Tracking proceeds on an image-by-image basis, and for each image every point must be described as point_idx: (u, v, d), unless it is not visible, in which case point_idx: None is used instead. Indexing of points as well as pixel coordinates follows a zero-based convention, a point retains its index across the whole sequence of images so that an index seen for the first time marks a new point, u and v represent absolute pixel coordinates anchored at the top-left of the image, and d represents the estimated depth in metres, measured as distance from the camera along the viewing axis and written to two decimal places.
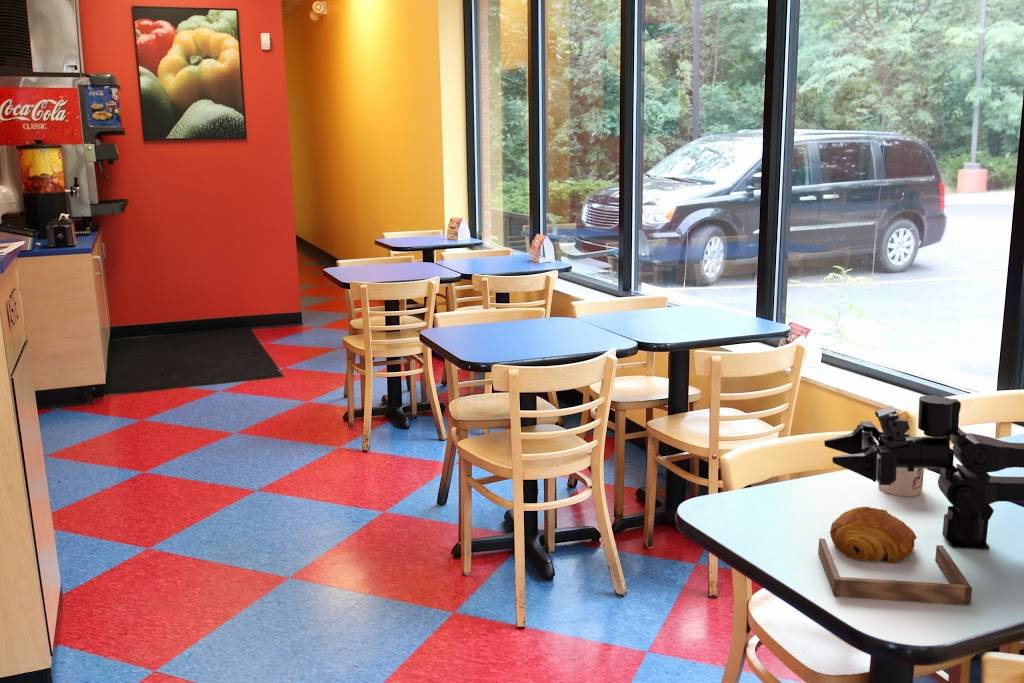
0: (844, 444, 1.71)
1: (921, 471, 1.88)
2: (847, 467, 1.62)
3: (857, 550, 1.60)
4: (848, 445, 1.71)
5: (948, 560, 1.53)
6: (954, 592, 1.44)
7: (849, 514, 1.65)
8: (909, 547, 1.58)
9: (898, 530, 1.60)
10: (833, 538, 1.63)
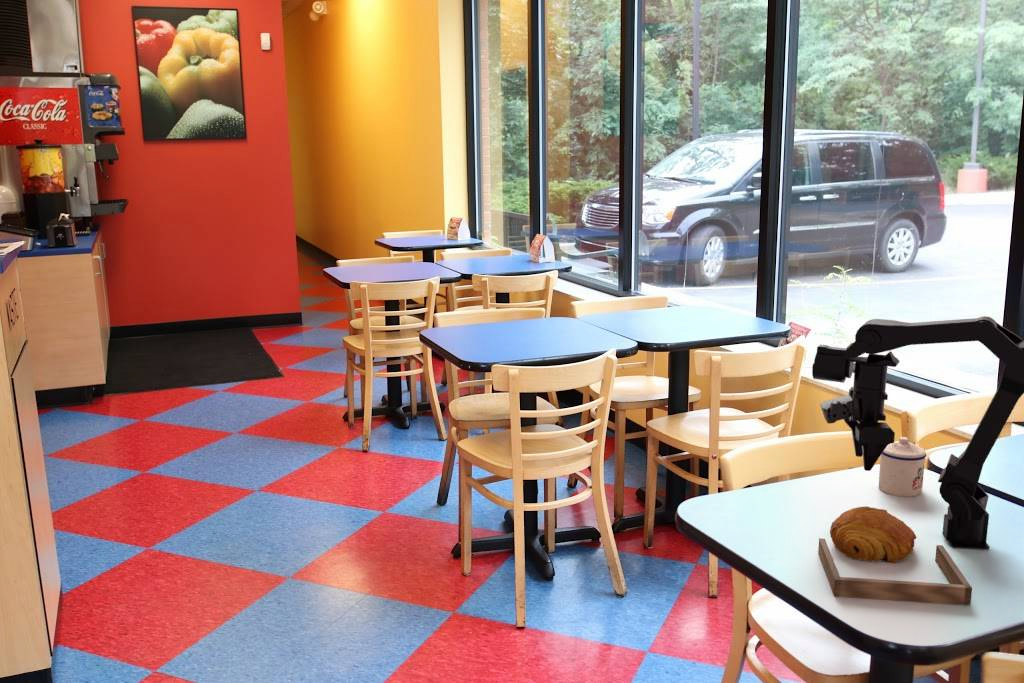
0: None
1: (921, 471, 1.88)
2: (875, 460, 1.68)
3: (857, 550, 1.60)
4: None
5: (948, 560, 1.53)
6: (954, 592, 1.44)
7: (849, 514, 1.65)
8: (909, 547, 1.58)
9: (898, 530, 1.60)
10: (833, 538, 1.63)
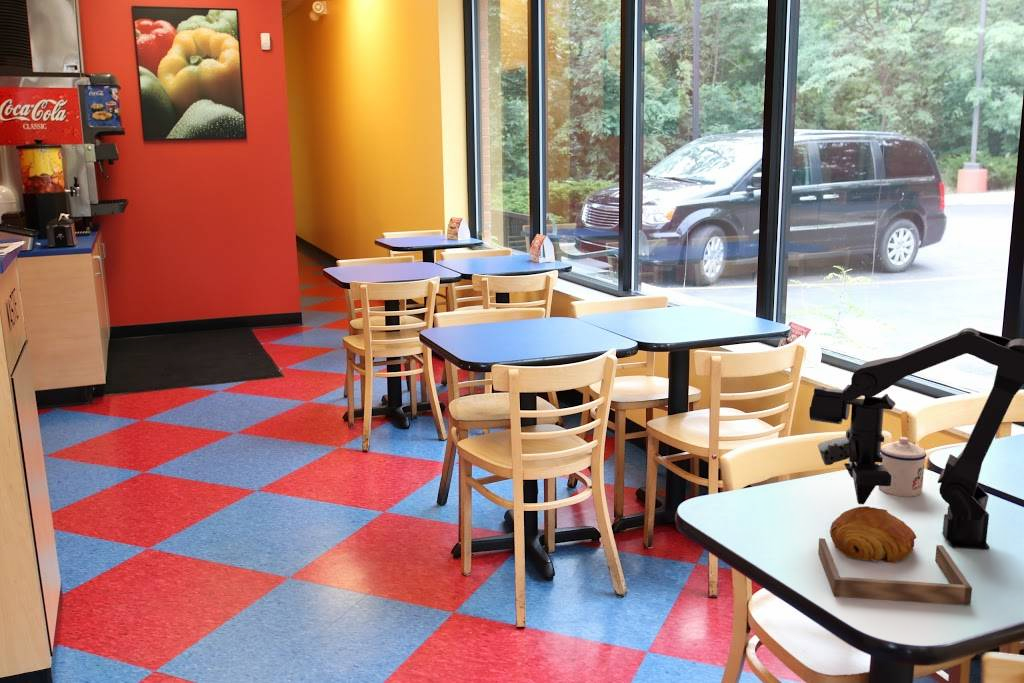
0: None
1: (921, 471, 1.88)
2: (868, 494, 1.74)
3: (857, 550, 1.60)
4: None
5: (948, 560, 1.53)
6: (954, 592, 1.44)
7: (849, 514, 1.65)
8: (909, 547, 1.58)
9: (898, 530, 1.60)
10: (833, 538, 1.63)
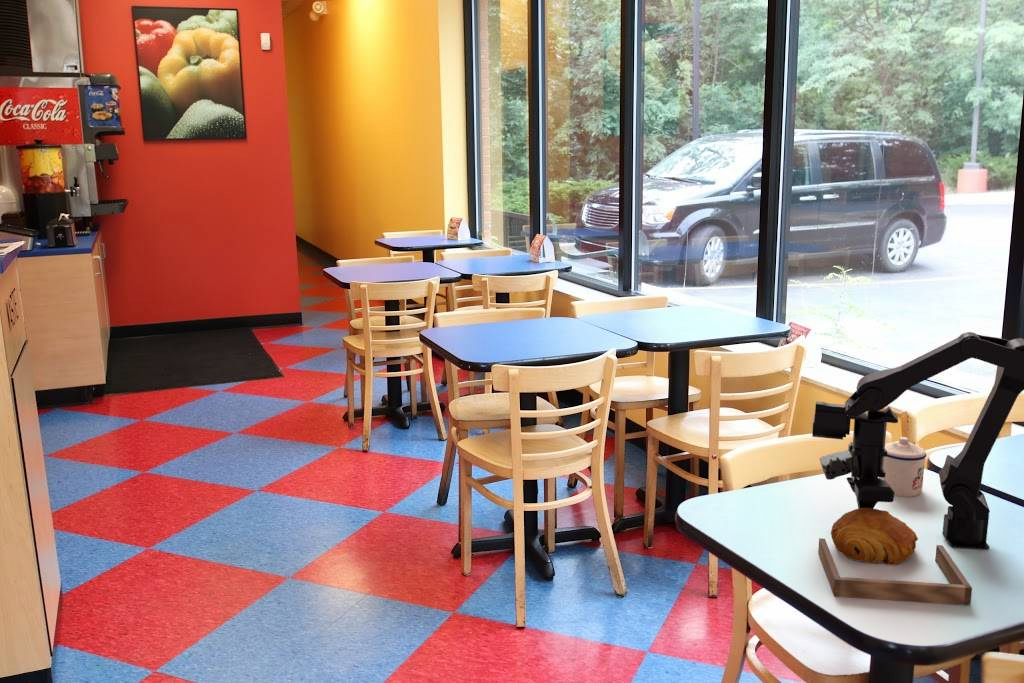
0: None
1: (921, 471, 1.88)
2: None
3: (857, 551, 1.59)
4: None
5: (948, 560, 1.53)
6: (954, 592, 1.44)
7: (850, 515, 1.64)
8: (910, 548, 1.57)
9: (899, 531, 1.59)
10: (834, 539, 1.63)
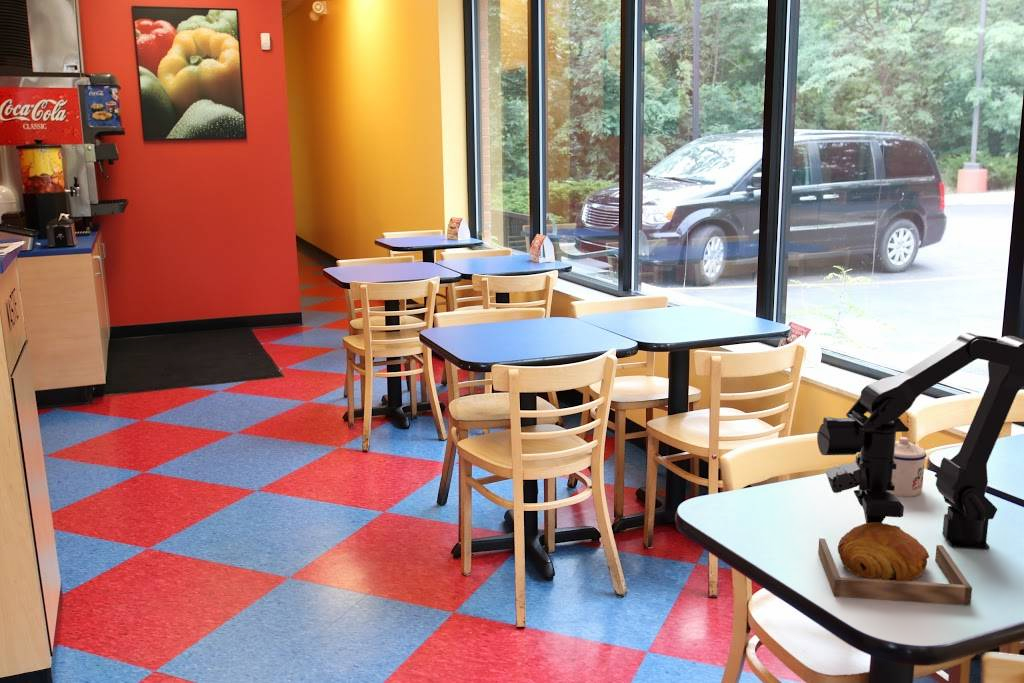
0: None
1: (921, 471, 1.88)
2: None
3: (864, 567, 1.53)
4: None
5: (948, 560, 1.53)
6: (954, 592, 1.44)
7: (858, 529, 1.58)
8: (919, 566, 1.50)
9: (909, 548, 1.52)
10: (840, 554, 1.57)
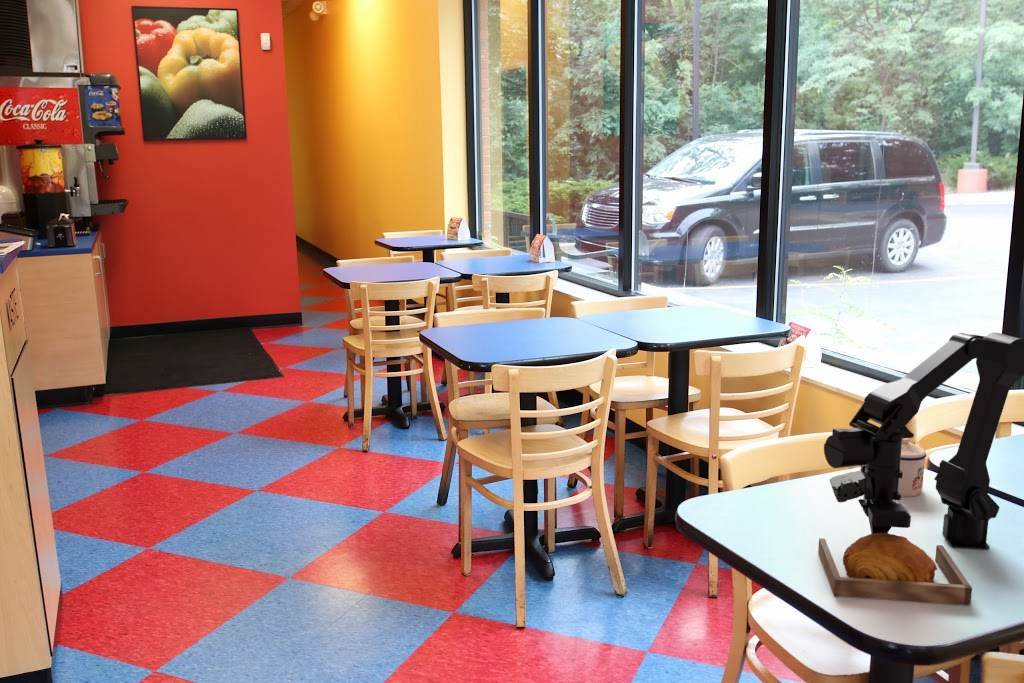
0: None
1: (921, 471, 1.88)
2: None
3: None
4: None
5: (948, 560, 1.53)
6: (954, 592, 1.44)
7: (864, 540, 1.54)
8: (927, 579, 1.46)
9: (916, 560, 1.48)
10: (845, 565, 1.52)
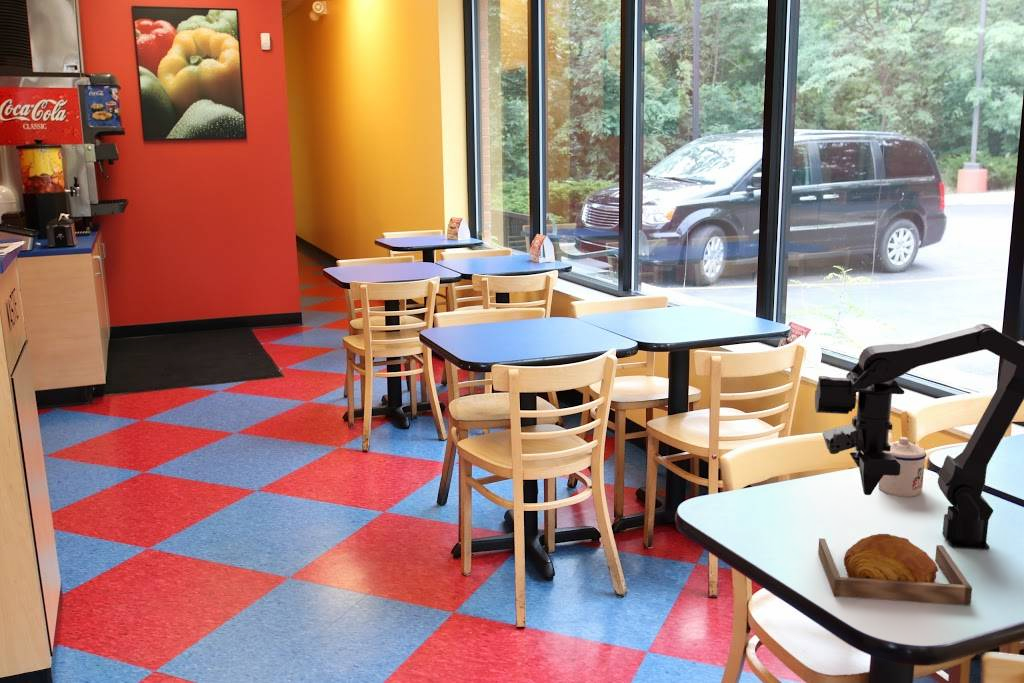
0: None
1: (921, 471, 1.88)
2: (875, 484, 1.67)
3: None
4: None
5: (948, 560, 1.53)
6: (954, 592, 1.44)
7: (865, 541, 1.53)
8: (927, 581, 1.46)
9: (917, 561, 1.48)
10: (846, 566, 1.52)
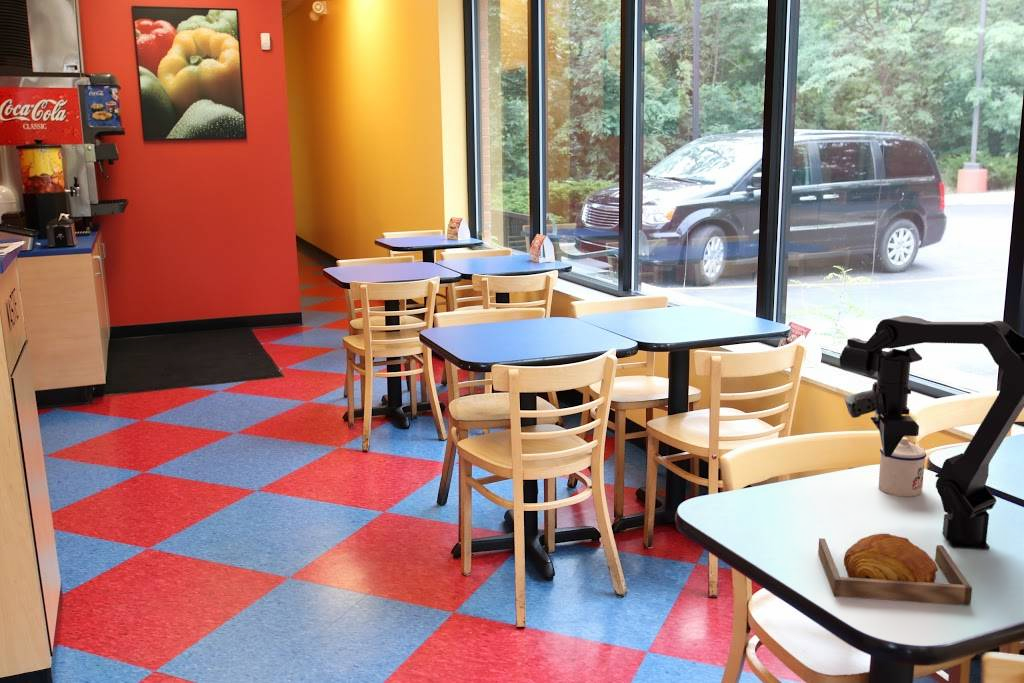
0: None
1: (921, 471, 1.88)
2: (895, 446, 1.76)
3: None
4: None
5: (948, 560, 1.53)
6: (954, 592, 1.44)
7: (865, 541, 1.53)
8: (927, 580, 1.46)
9: (916, 561, 1.48)
10: (846, 566, 1.52)
